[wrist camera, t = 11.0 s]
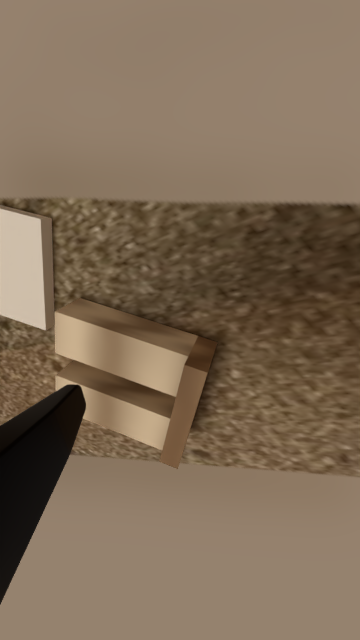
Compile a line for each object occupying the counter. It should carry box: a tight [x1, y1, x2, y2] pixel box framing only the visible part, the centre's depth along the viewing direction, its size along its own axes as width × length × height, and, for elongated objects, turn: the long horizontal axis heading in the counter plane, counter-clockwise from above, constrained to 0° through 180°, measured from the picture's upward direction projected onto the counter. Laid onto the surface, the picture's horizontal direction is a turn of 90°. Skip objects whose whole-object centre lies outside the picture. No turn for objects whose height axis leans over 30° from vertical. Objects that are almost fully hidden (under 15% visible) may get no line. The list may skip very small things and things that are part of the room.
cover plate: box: [0, 205, 55, 330], centre depth 22 cm, size 9×2×9 cm
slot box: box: [55, 298, 217, 469], centre depth 21 cm, size 12×9×4 cm
